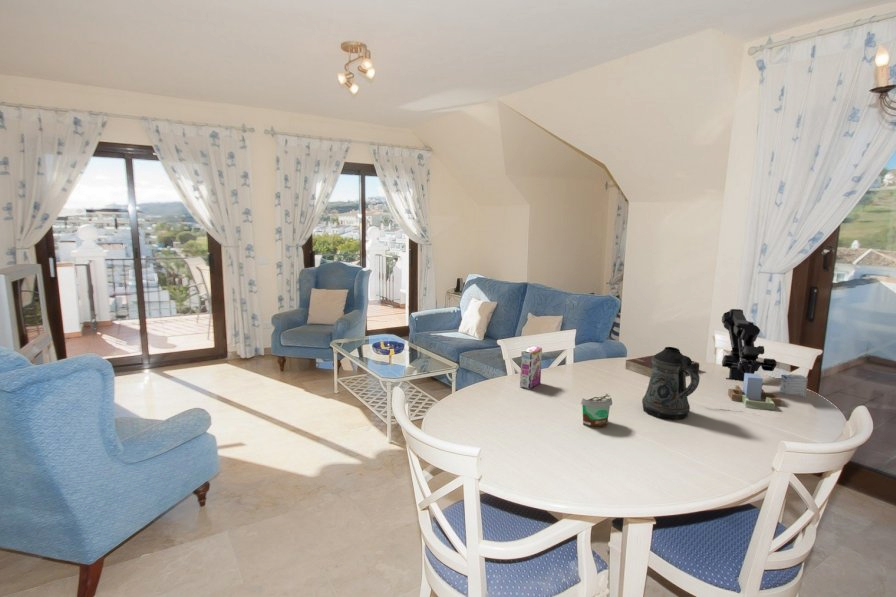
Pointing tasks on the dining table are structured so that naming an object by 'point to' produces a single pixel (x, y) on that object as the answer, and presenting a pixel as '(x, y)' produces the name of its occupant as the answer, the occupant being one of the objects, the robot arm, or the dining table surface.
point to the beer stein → (670, 385)
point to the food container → (596, 411)
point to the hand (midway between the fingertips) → (750, 380)
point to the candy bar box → (531, 367)
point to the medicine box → (793, 384)
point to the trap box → (770, 399)
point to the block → (752, 386)
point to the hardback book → (646, 365)
